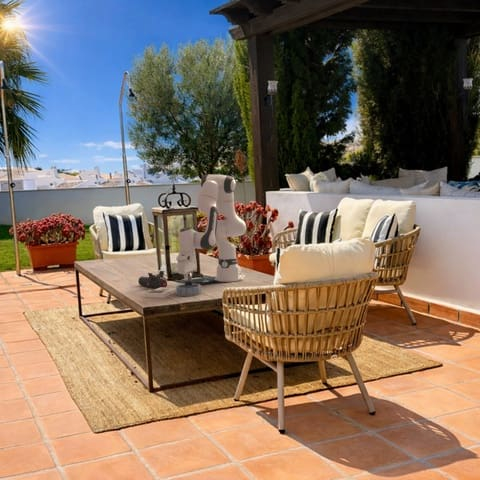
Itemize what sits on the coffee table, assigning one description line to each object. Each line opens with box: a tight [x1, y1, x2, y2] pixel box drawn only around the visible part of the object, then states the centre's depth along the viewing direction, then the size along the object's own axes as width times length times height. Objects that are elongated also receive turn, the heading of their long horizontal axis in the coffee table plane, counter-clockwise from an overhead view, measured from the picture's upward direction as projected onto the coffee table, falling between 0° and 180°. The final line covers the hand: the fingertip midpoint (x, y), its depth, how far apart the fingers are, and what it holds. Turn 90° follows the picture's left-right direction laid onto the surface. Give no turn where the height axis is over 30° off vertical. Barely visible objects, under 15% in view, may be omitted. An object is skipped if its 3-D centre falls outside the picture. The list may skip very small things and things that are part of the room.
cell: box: [184, 272, 193, 285], centre depth 362 cm, size 4×4×7 cm
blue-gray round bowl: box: [175, 283, 202, 297], centre depth 363 cm, size 14×14×5 cm
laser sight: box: [138, 270, 168, 289], centre depth 389 cm, size 10×22×10 cm, turn 46°
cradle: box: [143, 287, 176, 299], centre depth 366 cm, size 21×12×3 cm, turn 162°
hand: (188, 279), depth 362 cm, fingers closed on cell, 4 cm apart
